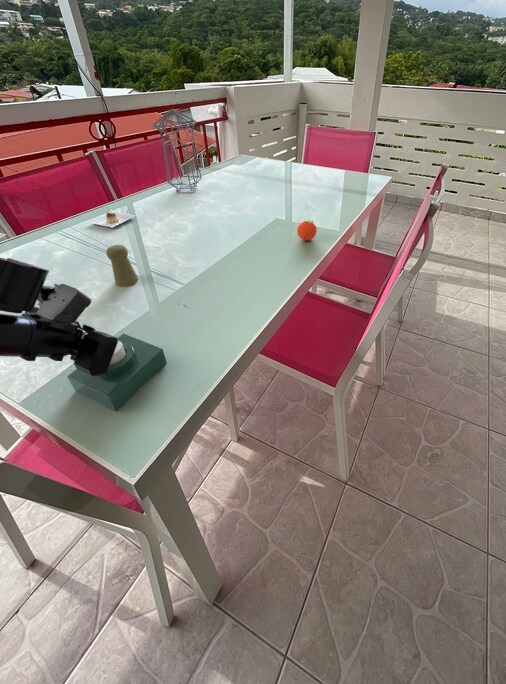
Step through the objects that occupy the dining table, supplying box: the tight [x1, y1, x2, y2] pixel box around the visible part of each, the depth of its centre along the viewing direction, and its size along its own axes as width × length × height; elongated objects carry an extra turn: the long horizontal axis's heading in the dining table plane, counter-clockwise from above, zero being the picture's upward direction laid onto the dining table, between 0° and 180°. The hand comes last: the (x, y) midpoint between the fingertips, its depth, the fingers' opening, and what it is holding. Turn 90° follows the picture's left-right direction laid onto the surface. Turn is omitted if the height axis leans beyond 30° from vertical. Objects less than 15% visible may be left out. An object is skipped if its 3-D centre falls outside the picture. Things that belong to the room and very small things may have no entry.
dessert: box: [87, 209, 136, 229], centre depth 128 cm, size 12×12×5 cm
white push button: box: [109, 341, 126, 365], centre depth 63 cm, size 4×4×2 cm
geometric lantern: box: [151, 108, 203, 194], centre depth 151 cm, size 16×16×35 cm
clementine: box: [296, 219, 318, 241], centre depth 117 cm, size 8×7×7 cm
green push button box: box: [66, 332, 168, 413], centre depth 65 cm, size 13×11×6 cm
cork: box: [105, 244, 139, 288], centre depth 92 cm, size 6×6×11 cm
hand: (108, 342), depth 61 cm, fingers closed
